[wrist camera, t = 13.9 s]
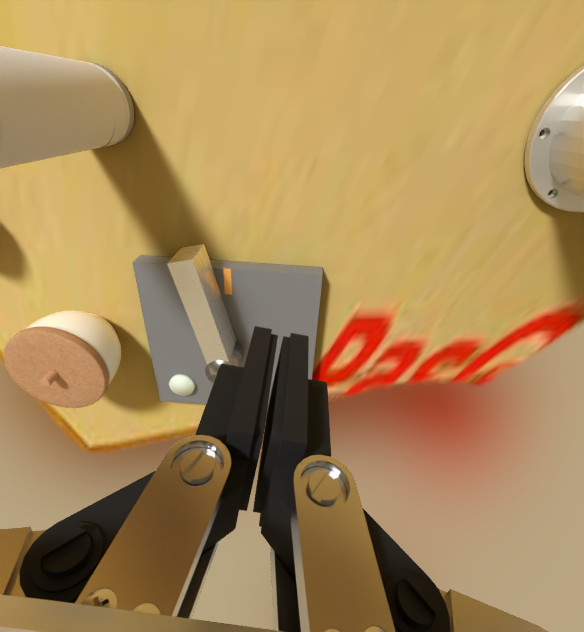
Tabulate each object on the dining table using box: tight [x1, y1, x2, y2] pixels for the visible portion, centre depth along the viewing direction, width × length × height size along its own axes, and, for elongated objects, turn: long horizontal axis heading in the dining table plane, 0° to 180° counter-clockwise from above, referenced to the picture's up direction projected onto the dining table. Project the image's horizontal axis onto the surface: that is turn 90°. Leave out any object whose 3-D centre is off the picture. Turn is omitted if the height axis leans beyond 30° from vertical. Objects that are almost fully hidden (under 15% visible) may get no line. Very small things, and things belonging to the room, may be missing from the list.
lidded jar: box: [4, 310, 121, 408], centre depth 40 cm, size 11×11×9 cm
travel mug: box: [0, 46, 134, 168], centre depth 23 cm, size 6×7×20 cm
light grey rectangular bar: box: [167, 244, 245, 383], centre depth 37 cm, size 15×4×5 cm, turn 11°
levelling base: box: [133, 255, 323, 409], centre depth 43 cm, size 20×20×3 cm
